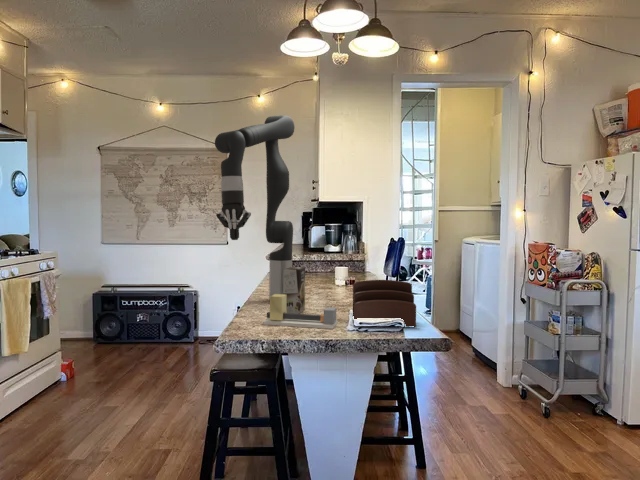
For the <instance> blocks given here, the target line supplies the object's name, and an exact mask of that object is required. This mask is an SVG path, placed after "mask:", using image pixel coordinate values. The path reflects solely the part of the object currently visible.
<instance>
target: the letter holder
mask: <svg viewBox="0 0 640 480" xmlns="http://www.w3.org/2000/svg"><path fill="white" fill-rule="evenodd" d="M353 316H354V319H357V318H401V319H403V320H404V322H405V324H406V326H414V327H417V305H416V303H415V296H414V294H413V286H412V283H410V282H407V281H402V280H391V279H369V280H368V279H367V280H359V281H355V282H353V284H352V317H353Z"/></svg>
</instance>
